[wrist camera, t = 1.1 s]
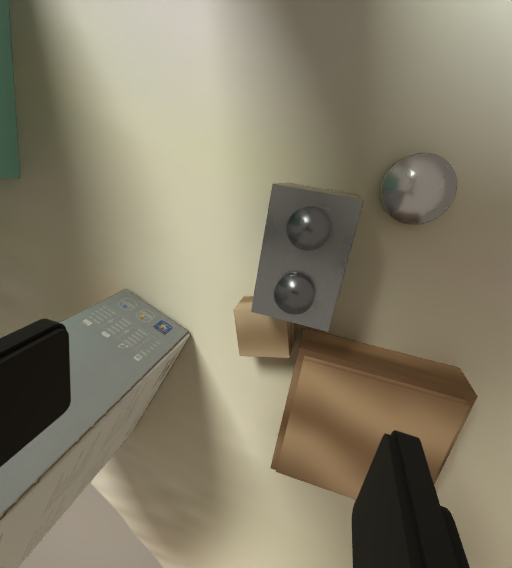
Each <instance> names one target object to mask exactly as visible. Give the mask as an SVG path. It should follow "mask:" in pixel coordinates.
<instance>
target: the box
mask: <svg viewBox="0 0 512 568" xmlns="http://www.w3.org/2000/svg"><path fill="white" fill-rule="evenodd" d="M0 178H20V168H19V153H18V138H17V122H16V107H15V92H14V77H13V62H12V46H11V31H10V16H9V1H8V0H0Z"/></svg>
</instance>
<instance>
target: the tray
mask: <svg viewBox="0 0 512 568" xmlns="http://www.w3.org/2000/svg"><path fill="white" fill-rule="evenodd" d="M476 398H477V395H476V393H475V392H474V390H473V388H472V387H471V385H470V384H469V382H468V380H467V379H466V377H465V376H464V374H463V372H462V371H461V369H460V368H456V367H453V366H449V365H445V364H441V363H437V362H433V361H429V360H426V359H422V358H418V357H414V356H410V355H406V354H403V353H399V352H395V351H391V350H387V349H383V348H379V347H376V346H372V345H368V344H364V343H360V342H356V341H353V340H349V339H345V338H341V337H337V336H333V335H329V334H326V333H322V332H318V331H314V330H310V329H306V328H304V331H303V335H302V339H301V343H300V347H299V351H298V355H297V359H296V363H295V368H294V372H293V376H292V380H291V384H290V389H289V393H288V397H287V401H286V405H285V410H284V414H283V418H282V422H281V426H280V431H279V435H278V439H277V443H276V447H275V451H274V456H273V460H272V464H271V468H272V469H275V470H276V472H278V473H281V474H284V475H287V476H290V477H293V478H295V479H298V480H301V481H304V482H307V483H310V484H313V485H316V486H318V487H321V488H324V489H327V490H330V491H333V492H336V493H339V494H341V495H344V496H347V497H350V498H353V499H357V497H358V494H359V492H360V489H361V487H362V485H363V482H364V480H365V477H366V475H367V473H368V470H369V468H370V465H371V463H372V461H373V458H374V456H375V453H376V451H377V449H378V446H379V444H380V441H381V439H382V437H383V435H384V434H385V433H386V434H389V435H391V433H392V432H393V431H394V430H397V431H400V432H403V433H406V434H409V435H412V436H415V437H418V438H419V439H420V441H421V443H422V447H423V450H424V453H425V457H426V460H427V464H428V467H429V470H430V474H431V477H432V480H433V484H435V482H436V480H437V478H438V476H439V474H440V472H441V470H442V468H443V466H444V463H445V461H446V459H447V457H448V455H449V453H450V451H451V449H452V447H453V445H454V443H455V441H456V439H457V437H458V435H459V433H460V431H461V429H462V427H463V425H464V423H465V421H466V419H467V417H468V414H469V412H470V410H471V408H472V406H473V404H474V402H475V400H476Z"/></svg>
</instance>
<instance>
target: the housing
mask: <svg viewBox="0 0 512 568" xmlns="http://www.w3.org/2000/svg"><path fill="white" fill-rule="evenodd" d="M363 201H364V200H363V199H362V198H361V197H360V196H359V195H355V194H349V193H343V192H338V191H332V190H327V189H321V188H315V187H310V186H304V185H299V184H293V183H277V184H273V186H272V191H271V197H270V203H269V209H268V215H267V221H266V227H265V232H264V238H263V244H262V250H261V256H260V262H259V267H258V273H257V279H256V285H255V291H254V297H253V303H252V308H251V312H254V313H257V314H261V315H265V316H269V317H273V318H277V319H281V320H284V321H288V322H292V323H296V324H300V325H304V326H308V327H312V328H315V329H319V330H323V331H327V332H328V331H329V327H330V323H331V319H332V316H333V312H334V308H335V305H336V301H337V297H338V293H339V290H340V286H341V282H342V279H343V275H344V271H345V267H346V264H347V260H348V256H349V253H350V249H351V245H352V241H353V238H354V234H355V230H356V227H357V223H358V219H359V215H360V212H361V208H362V204H363Z"/></svg>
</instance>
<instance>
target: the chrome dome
mask: <svg viewBox="0 0 512 568" xmlns="http://www.w3.org/2000/svg"><path fill="white" fill-rule="evenodd" d="M456 189H457V179H456V175H455V172H454V170H453V168H452V166H451V165H450V164H449V163H448V162H447V161H446V160H445V159H443V158H442V157H440V156H437V155H435V154H430V153H419V154H414V155H411V156H408V157H405V158H403V159H401V160H400V161H398V162H397V163H395V164H394V165H393V166H392V167H391V168H390V169H389V170H388V172H387V173H386V175H385V177H384V179H383V181H382V184H381V190H380V196H381V201H382V204H383V206H384V208H385V210H386V211H387V212H388V213H389V214H390V215H391V216H392V217H394V218H395V219H397V220H398V221H401V222H403V223H407V224H422V223H426V222H429V221H431V220H433V219H435V218H437V217H439V216H440V215H441V214H442V213H444V212H445V211H446V210H447V208H448V207H449V206H450V204H451V203H452V201H453V199H454V197H455V193H456Z"/></svg>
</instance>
